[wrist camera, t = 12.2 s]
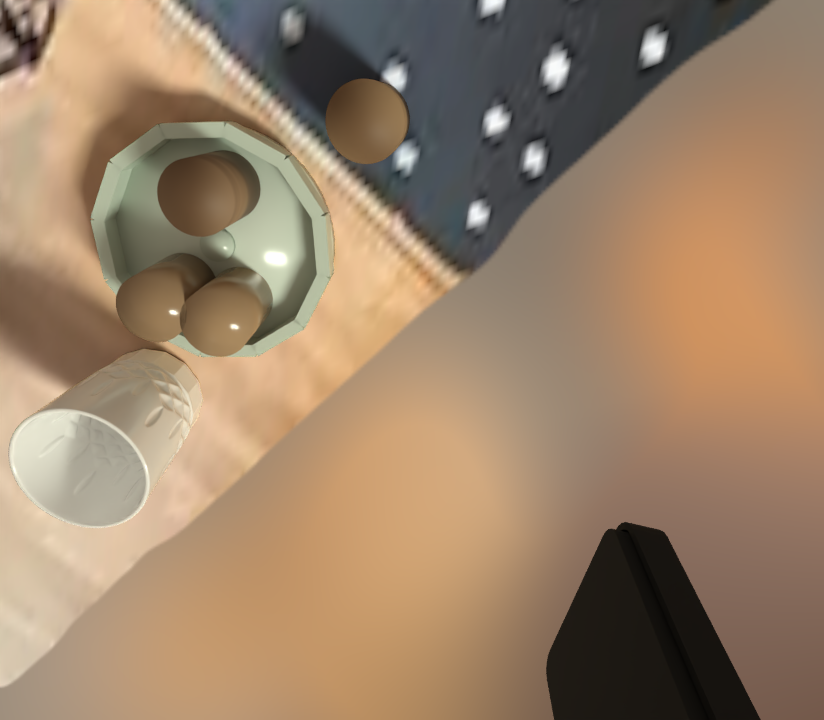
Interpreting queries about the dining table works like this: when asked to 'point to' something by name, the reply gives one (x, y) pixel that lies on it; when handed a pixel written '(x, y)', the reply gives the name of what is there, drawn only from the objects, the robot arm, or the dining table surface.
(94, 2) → the dining table surface
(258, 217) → the tray
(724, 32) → the dining table surface
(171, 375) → the white cup
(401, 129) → the bead
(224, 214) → the bead
